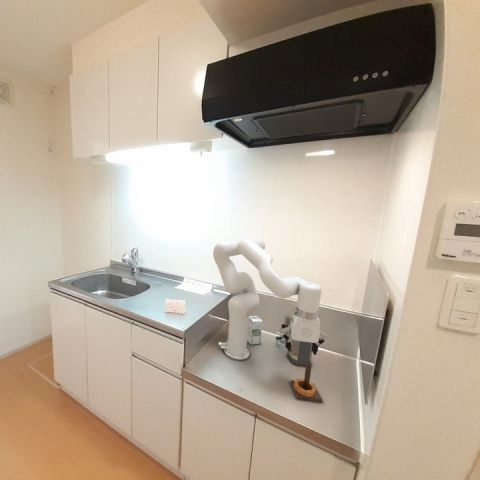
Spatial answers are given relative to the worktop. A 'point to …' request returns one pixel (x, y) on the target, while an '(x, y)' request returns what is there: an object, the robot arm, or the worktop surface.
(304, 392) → the ring
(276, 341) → the worktop surface
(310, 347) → the liquor
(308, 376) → the stand
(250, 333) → the syrup box
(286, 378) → the worktop surface
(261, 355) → the worktop surface
